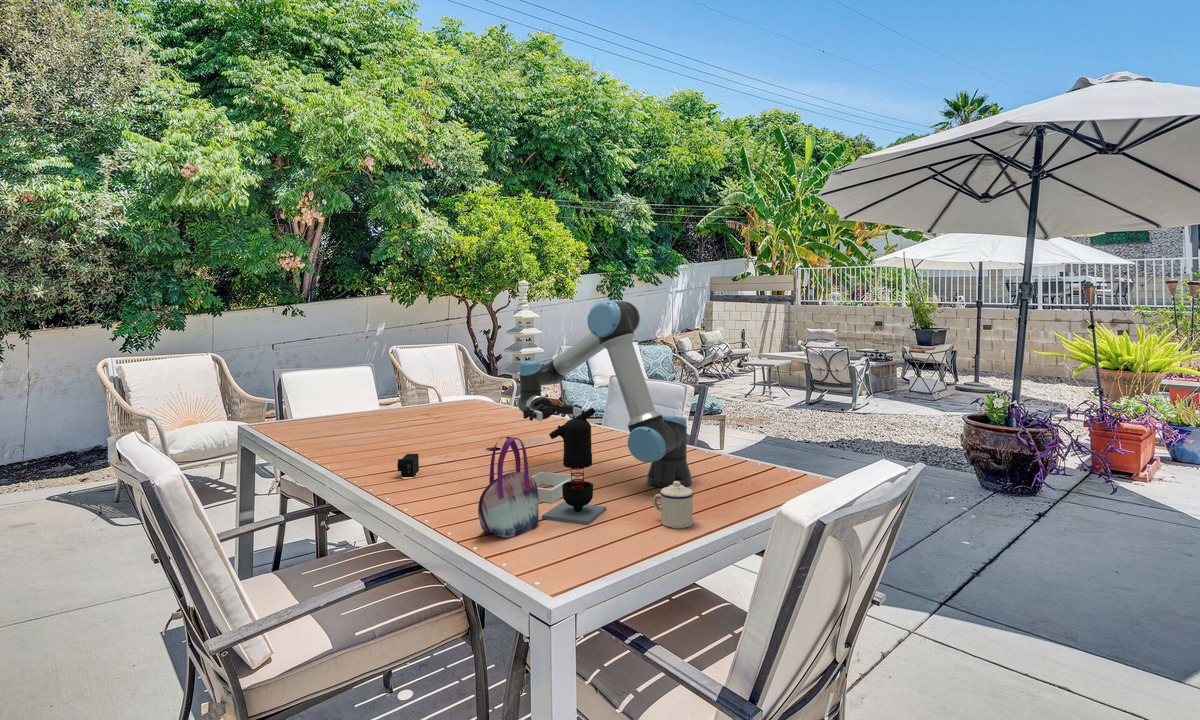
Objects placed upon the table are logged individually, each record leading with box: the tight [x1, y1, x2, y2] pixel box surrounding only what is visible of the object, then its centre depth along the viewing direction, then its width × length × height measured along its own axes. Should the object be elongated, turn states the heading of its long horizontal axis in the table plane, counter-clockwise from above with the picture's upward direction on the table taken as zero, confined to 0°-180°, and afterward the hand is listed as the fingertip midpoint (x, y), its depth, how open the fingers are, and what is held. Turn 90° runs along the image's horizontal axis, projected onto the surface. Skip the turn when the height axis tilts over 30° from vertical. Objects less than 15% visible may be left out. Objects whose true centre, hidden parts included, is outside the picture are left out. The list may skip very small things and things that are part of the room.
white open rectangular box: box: [530, 471, 579, 504], centre depth 200 cm, size 14×19×4 cm
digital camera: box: [396, 453, 420, 478], centre depth 224 cm, size 10×5×7 cm, turn 6°
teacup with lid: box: [652, 481, 695, 529], centre depth 170 cm, size 12×9×12 cm
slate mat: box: [541, 501, 607, 526], centre depth 178 cm, size 14×14×1 cm
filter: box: [548, 407, 597, 512], centre depth 177 cm, size 14×9×30 cm
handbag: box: [477, 436, 540, 538], centre depth 165 cm, size 21×10×25 cm, turn 143°
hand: (561, 415), depth 194 cm, fingers open, 13 cm apart
